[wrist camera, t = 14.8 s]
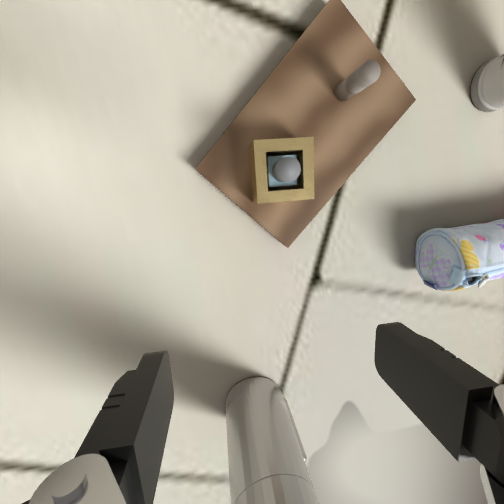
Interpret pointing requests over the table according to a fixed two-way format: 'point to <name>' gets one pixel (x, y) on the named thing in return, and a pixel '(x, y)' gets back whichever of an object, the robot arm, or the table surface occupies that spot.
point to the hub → (282, 170)
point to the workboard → (312, 118)
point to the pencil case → (461, 255)
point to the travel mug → (489, 85)
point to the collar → (282, 146)
